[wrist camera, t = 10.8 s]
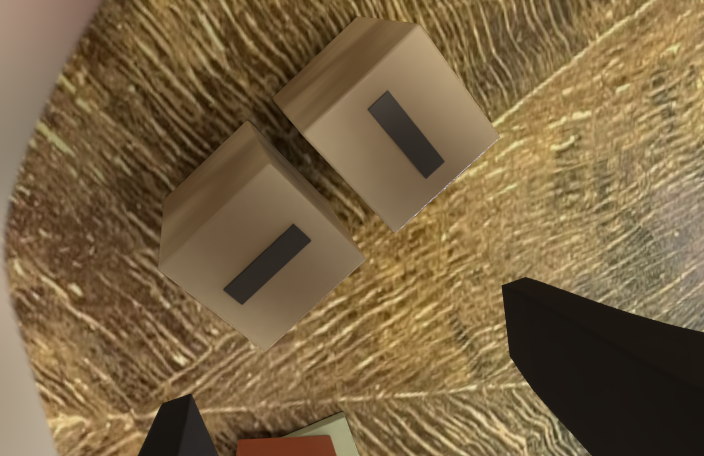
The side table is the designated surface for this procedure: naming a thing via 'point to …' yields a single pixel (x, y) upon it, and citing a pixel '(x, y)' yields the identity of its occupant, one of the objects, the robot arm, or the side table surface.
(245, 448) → the red slotted block
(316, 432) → the word mat
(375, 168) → the tan rectangular block
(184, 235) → the beige dark-barred block
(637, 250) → the side table surface
